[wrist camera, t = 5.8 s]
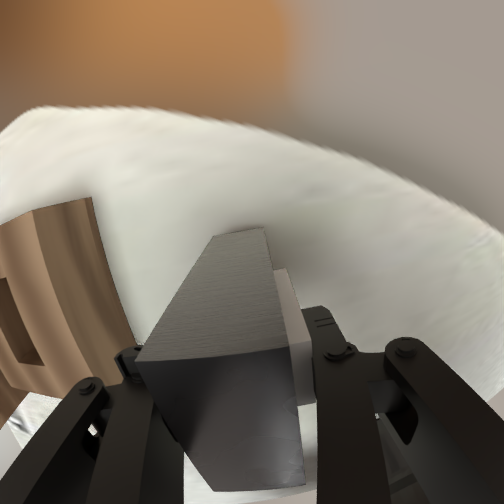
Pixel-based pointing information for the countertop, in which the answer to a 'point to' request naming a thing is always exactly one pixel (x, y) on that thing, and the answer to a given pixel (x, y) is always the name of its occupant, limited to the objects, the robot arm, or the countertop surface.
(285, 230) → the countertop surface
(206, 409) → the dark grey rectangular post
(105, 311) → the wooden panel stand
